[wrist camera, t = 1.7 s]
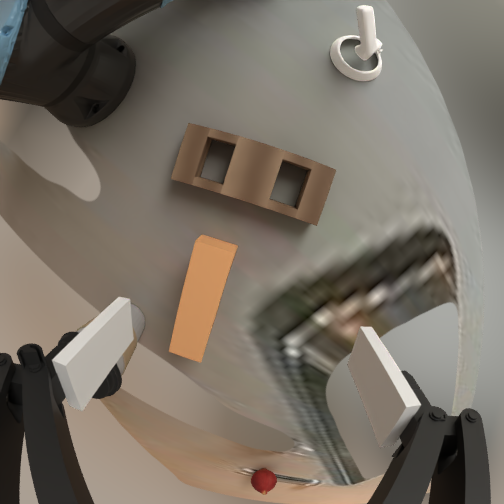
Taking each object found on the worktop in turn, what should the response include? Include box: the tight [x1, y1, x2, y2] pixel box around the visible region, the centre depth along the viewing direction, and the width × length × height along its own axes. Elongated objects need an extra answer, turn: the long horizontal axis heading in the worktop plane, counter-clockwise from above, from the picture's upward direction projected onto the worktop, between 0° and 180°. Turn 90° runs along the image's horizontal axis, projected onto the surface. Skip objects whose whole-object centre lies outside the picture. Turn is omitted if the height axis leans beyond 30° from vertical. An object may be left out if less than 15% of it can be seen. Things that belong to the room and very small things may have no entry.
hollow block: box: [171, 123, 336, 226], centre depth 32 cm, size 18×7×3 cm, turn 72°
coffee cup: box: [58, 303, 145, 399], centre depth 32 cm, size 10×9×15 cm
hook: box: [330, 5, 383, 81], centre depth 25 cm, size 8×12×7 cm
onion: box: [251, 468, 277, 495], centre depth 45 cm, size 6×6×8 cm
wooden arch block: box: [169, 235, 238, 362], centre depth 32 cm, size 14×4×9 cm, turn 162°
